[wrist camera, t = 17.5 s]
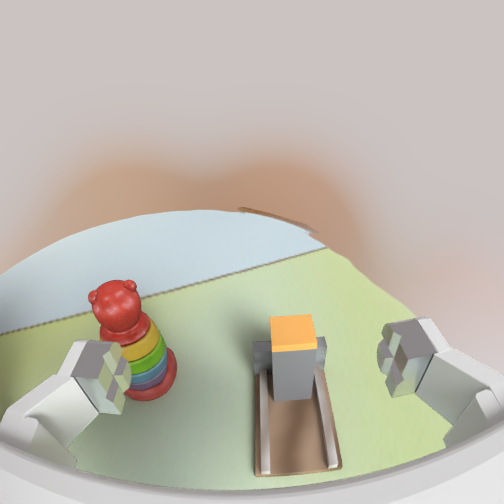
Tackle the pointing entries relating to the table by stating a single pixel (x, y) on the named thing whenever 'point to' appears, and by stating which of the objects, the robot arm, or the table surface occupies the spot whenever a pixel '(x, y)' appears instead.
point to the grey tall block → (293, 356)
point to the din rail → (293, 422)
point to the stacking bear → (134, 338)
